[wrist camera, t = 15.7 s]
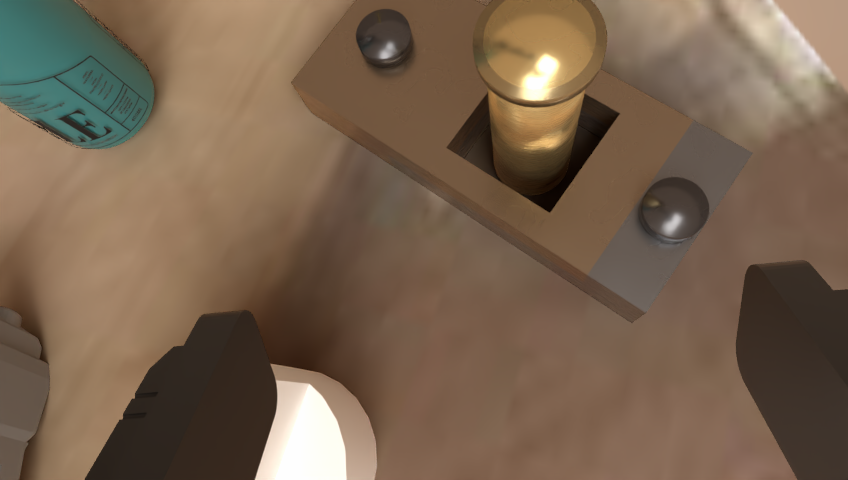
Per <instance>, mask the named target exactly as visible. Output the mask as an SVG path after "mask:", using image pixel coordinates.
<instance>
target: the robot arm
mask: <svg viewBox="0 0 848 480" xmlns="http://www.w3.org/2000/svg"><path fill="white" fill-rule="evenodd" d="M736 355H737V361H738V366H739V370H740V373H741V376H742V378H743V381H744V383H745V385H746V386H747V388H748V390H749V392H750V394H751V396H752V397H753V399H754V401H755V403H756V405H757V406H758V408H759V410H760V412H761V414H762V416H763V417H764V419H765V421H766V423H767V425H768V427H769V428H770V430H771V432H772V434H773V436H774V437H775V439H776V441H777V443H778V445H779V447H780V448H781V450H782V452H783V454H784V456H785V458H786V459H787V461H788V463H789V465H790V467H791V469H792V470H793V472H794V474H795V476H796V478H797V479H798V480H848V290H847V289H845V290H834V291H833V290H832V289H831V287H830V286H829V285H828V284H827V283H826V282H825V280H824V279H823V278H822V277H821V276H820V275H819V274H818V272H817V271H816V270H815V269H814V268H813V267H812V265H811V264H809V263H808V262H807V261H804V260H798V261H787V262H777V263H766V264H755V265H751V266H749V268H748V269H747V271H746V274H745V280H744V287H743V294H742V302H741V309H740V316H739V324H738V331H737V338H736ZM276 409H277V384H276V379H275V376H274V373H273V370H272V367H271V364H270V361H269V358H268V356H267V353H266V350H265V347H264V344H263V341H262V338H261V335H260V333H259V330H258V327H257V324H256V321H255V319H254V317H253V315H252V314H251V312H249V311H247V310H243V311H232V312H222V313H211V314H203V315H202V316H201V317H200V318H199V319H198V321H197V322H196V324H195V326H194V328H193V330H192V332H191V333H190V335H189V337H188V339H187V341H186V343H185V344H184V346H176V347H173V348H172V349H171V350H170V351H169V352H167V353H166V354H165V355H164V356H163V357H162V358H161V359H160V360H159V361H158V362H157V363H155V364H154V365H153V366H152V367H151V368H150V369H149V371H148V372H147V374H146V376H145V377H144V379H143V381H142V383H141V384H140V386H139V388H138V389H137V391H136V393H135V399H132V400H131V401H130V403H129V405H128V406H127V408H126V410H125V411H124V413H123V420H119V422H118V423H117V425H116V427H115V428H114V430H113V432H112V434H111V435H110V437H109V439H108V440H107V442H106V444H105V446H104V447H103V449H102V451H101V452H100V454H99V456H98V457H97V459H96V461H95V463H94V464H93V466H92V468H91V469H90V471H89V473H88V474H87V476H86V478H85V480H255V478H256V475H257V471H258V468H259V465H260V462H261V459H262V456H263V452H264V449H265V446H266V443H267V440H268V437H269V433H270V430H271V427H272V424H273V421H274V418H275V414H276Z"/></svg>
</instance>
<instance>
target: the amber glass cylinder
mask: <svg viewBox="0 0 848 480" xmlns="http://www.w3.org/2000/svg"><path fill="white" fill-rule="evenodd" d="M472 46H473V54H474V62H475V66H476V69H477V71H478V74H479V76H480V78H481V79H482V81H483V82H484V84H485V85H486V86H487V91H488V102H489V113H490V124H491V136H492V147H493V158H494V167H495V171H496V173H497V176H498V177H499V179H500V180H501V182H502V183H503V184H504V185H506V186H508V187H509V188H511V189H512V190H514V191H516V192H517V193H520V194H524V195H538V194H542V193H545V192H548V191H550V190H551V189H553V188H554V187H556V186H557V185H558V184H559V183H560V182H561V181H562V180H563V178H564V176H565V175H566V172H567V170H568V166H569V161H570V157H571V152H572V148H573V143H574V139H575V134H576V130H577V125H578V121H579V116H580V112H581V107H582V103H583V98H584V94H585V89H586V88H587V87H588V86H589V85H590V84H591V83H592V82H593V80H594V79H595V78H596V76H597V74H598V73H599V71H600V68H601V66H602V63H603V59H604V56H605V52H606V46H607V30H606V25H605V22H604V19H603V17H602V15H601V13H600V11H599V10H598V8H597V7H596V5H595V4H594V3H593V2H592V1H591V0H492V1H491V2H490V3H489V4H488V5H487V6H486V8H485V9H484V10H483V12H482V13H481V15H480V16H479V18H478V21H477V23H476V26H475V29H474V33H473V43H472Z"/></svg>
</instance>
